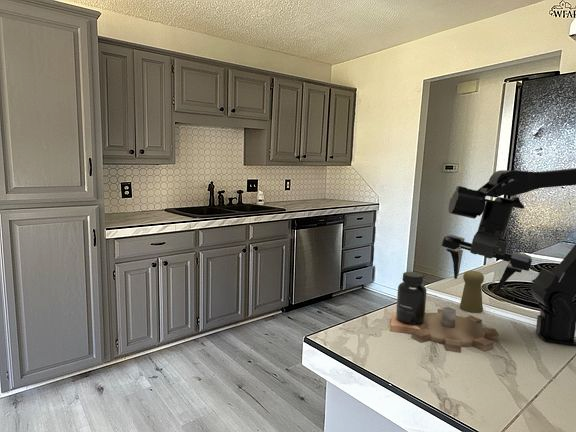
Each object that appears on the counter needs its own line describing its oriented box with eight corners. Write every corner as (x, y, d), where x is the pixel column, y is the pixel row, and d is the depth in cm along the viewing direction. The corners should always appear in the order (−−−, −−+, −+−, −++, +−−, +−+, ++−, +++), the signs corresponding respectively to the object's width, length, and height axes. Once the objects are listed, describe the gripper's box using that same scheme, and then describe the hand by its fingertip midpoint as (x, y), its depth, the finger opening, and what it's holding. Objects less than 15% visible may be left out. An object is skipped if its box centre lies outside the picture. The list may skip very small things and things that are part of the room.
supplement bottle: (398, 324, 91) (400, 277, 89) (394, 314, 97) (396, 269, 96) (427, 326, 90) (430, 278, 88) (421, 315, 96) (423, 271, 95)
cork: (487, 313, 102) (490, 274, 101) (465, 313, 103) (468, 274, 101) (476, 305, 108) (479, 268, 107) (455, 305, 109) (458, 268, 107)
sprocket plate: (487, 320, 98) (488, 300, 97) (508, 359, 78) (510, 334, 77) (392, 309, 105) (393, 290, 104) (389, 342, 85) (390, 319, 84)
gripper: (445, 213, 85) (427, 277, 88) (539, 236, 75) (517, 307, 78) (455, 213, 95) (439, 270, 97) (540, 233, 84) (520, 297, 87)
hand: (475, 285), depth 89 cm, fingers open, 9 cm apart
